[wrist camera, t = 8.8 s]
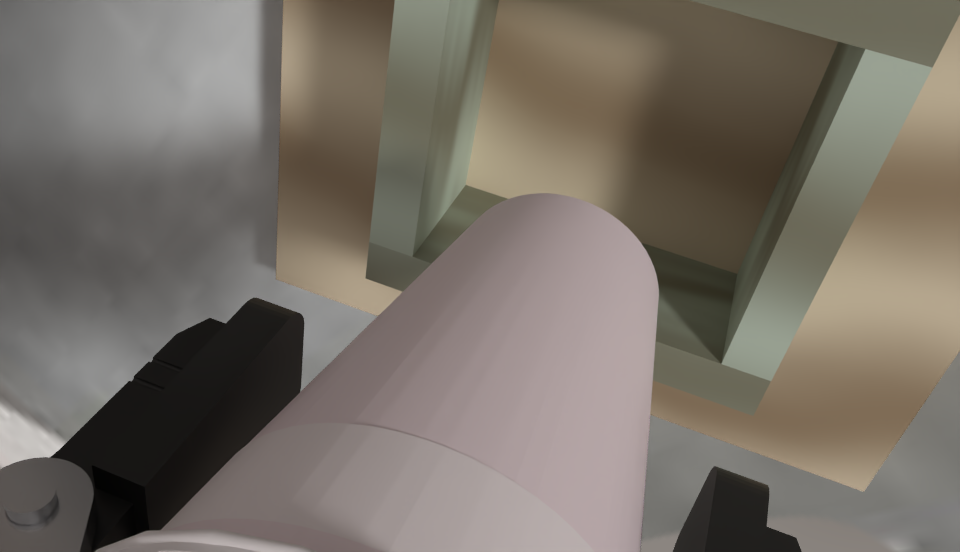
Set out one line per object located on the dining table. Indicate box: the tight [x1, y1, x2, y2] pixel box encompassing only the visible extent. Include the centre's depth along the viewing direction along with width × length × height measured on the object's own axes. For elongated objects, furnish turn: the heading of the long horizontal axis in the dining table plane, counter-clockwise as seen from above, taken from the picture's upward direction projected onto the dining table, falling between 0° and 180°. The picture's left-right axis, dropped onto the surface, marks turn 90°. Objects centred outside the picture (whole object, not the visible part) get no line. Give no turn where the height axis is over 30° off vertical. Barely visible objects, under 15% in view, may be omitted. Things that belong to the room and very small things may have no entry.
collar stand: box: [276, 0, 960, 492], centre depth 21 cm, size 20×20×6 cm
